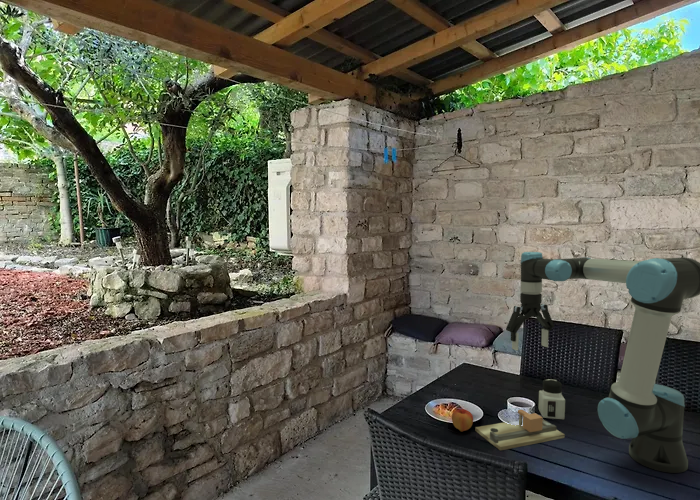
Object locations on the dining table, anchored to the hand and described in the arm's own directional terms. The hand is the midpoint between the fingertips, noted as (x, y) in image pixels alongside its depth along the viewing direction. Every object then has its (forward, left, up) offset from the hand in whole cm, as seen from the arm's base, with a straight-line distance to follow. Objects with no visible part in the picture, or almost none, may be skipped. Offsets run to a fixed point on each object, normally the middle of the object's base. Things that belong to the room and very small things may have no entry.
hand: (530, 348), depth 171 cm
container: (-4, -7, -26) cm, 27 cm away
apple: (-4, +32, -26) cm, 41 cm away
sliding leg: (-14, +12, -24) cm, 30 cm away
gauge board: (-13, +15, -25) cm, 32 cm away
